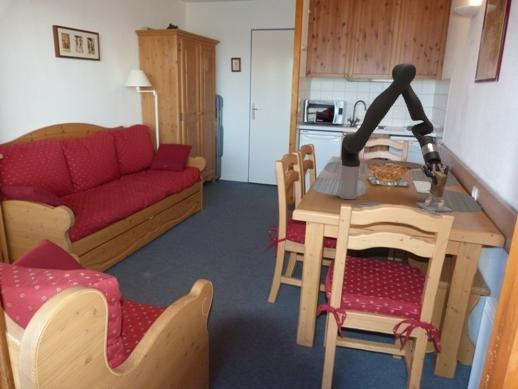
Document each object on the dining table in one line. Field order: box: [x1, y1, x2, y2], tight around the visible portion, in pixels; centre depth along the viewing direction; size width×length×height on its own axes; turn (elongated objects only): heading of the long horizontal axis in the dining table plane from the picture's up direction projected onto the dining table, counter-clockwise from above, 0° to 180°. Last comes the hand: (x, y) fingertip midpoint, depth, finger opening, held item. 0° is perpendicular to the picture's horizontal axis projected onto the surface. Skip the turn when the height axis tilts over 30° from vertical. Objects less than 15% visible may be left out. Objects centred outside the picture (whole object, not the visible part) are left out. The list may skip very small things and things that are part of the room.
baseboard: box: [412, 180, 431, 195], centre depth 241 cm, size 31×3×12 cm
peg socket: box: [416, 196, 453, 213], centre depth 199 cm, size 12×12×4 cm
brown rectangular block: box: [429, 171, 449, 198], centre depth 196 cm, size 4×6×11 cm, turn 6°
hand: (440, 183), depth 194 cm, fingers closed on brown rectangular block, 3 cm apart
